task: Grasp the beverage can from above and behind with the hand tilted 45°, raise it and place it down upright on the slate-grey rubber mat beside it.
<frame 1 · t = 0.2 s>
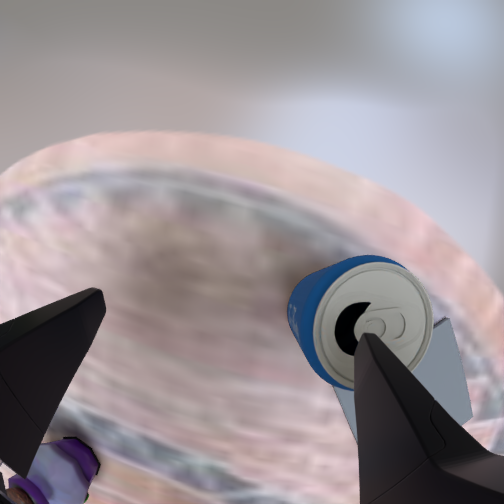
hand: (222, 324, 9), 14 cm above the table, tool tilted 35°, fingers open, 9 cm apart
beverage can: (326, 310, 23), on the table
potion bottle: (80, 455, 23), on the table
mat: (412, 404, 22), on the table
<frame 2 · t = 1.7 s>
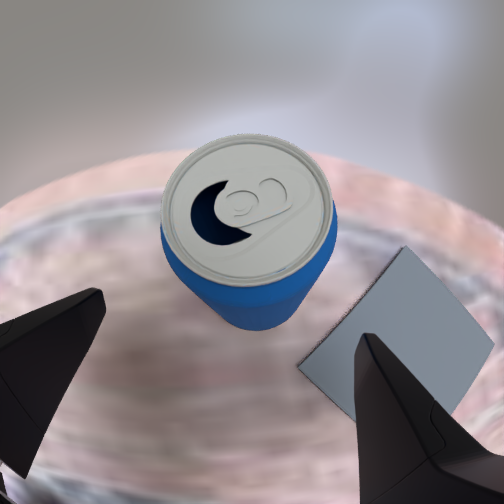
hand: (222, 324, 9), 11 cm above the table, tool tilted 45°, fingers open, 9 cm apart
beverage can: (256, 285, 21), on the table
mat: (411, 358, 18), on the table
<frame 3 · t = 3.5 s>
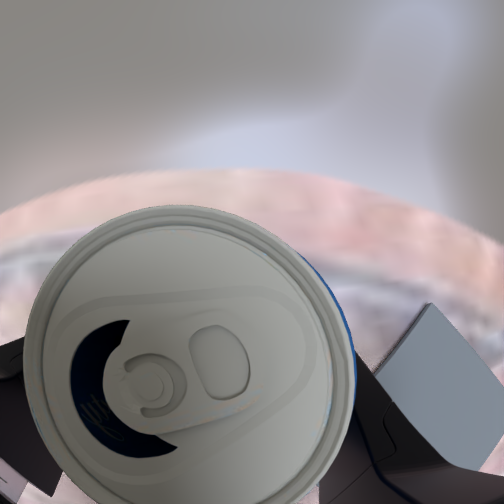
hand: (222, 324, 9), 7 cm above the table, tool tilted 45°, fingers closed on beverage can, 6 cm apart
beverage can: (236, 361, 15), on the table, touching gripper
mat: (425, 439, 13), on the table
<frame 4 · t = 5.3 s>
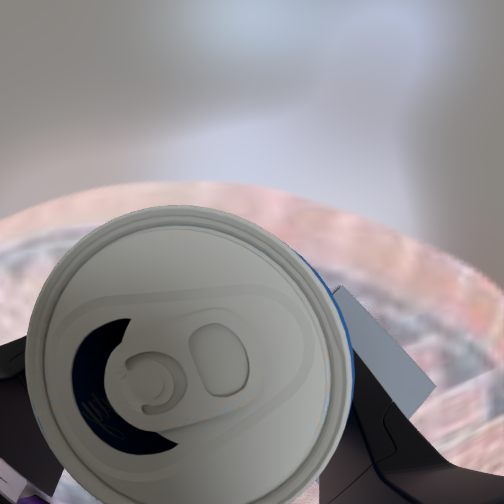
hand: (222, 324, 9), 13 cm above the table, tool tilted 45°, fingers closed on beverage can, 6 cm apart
beverage can: (235, 360, 15), point 6 cm above the table, touching gripper
mat: (338, 395, 20), on the table
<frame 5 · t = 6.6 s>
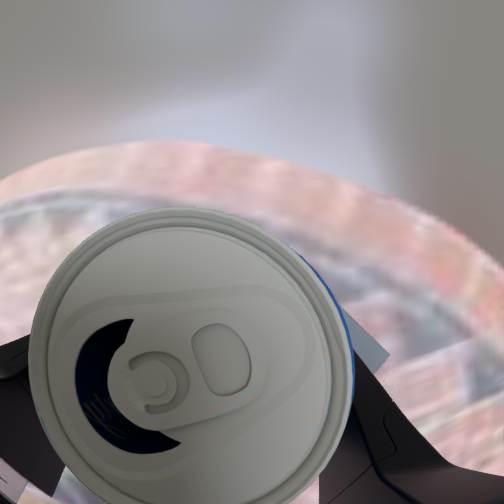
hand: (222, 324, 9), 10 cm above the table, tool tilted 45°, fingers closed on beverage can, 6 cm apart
beverage can: (236, 360, 15), point 3 cm above the table, touching gripper
mat: (259, 360, 18), on the table
when the fingers open (8 cm above the table, at t = 7.4 s): beverage can stays where it is, resting on mat.
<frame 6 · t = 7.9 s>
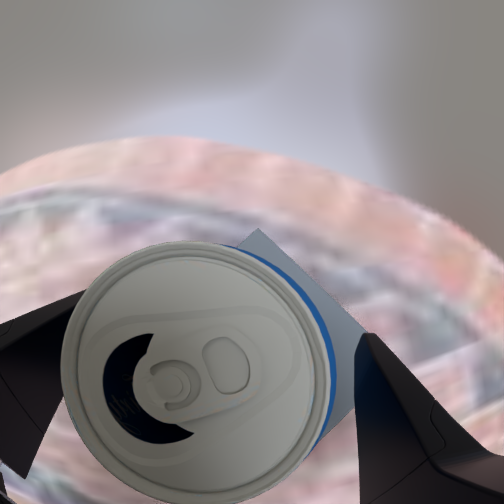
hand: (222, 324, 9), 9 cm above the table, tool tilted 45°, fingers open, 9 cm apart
beverage can: (237, 362, 17), resting on mat
mat: (256, 366, 17), on the table
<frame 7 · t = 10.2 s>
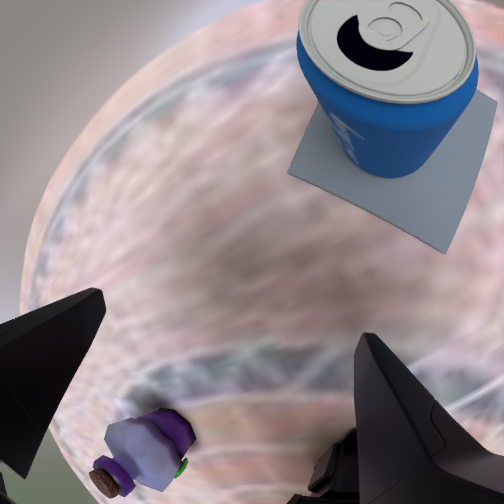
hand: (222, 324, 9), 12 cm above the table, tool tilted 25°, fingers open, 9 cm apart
beverage can: (385, 133, 17), resting on mat
potion bottle: (175, 427, 28), on the table
mat: (401, 132, 17), on the table
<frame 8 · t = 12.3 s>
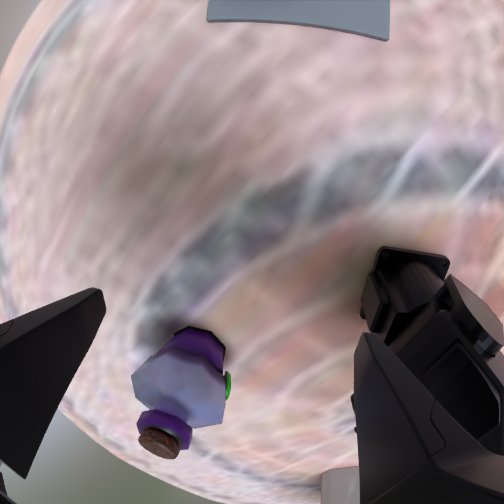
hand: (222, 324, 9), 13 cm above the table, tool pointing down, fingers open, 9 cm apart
gray triangular prism: (358, 475, 39), on the table
potion bottle: (199, 346, 28), on the table
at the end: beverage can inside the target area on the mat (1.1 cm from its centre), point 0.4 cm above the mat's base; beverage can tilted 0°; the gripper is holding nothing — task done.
